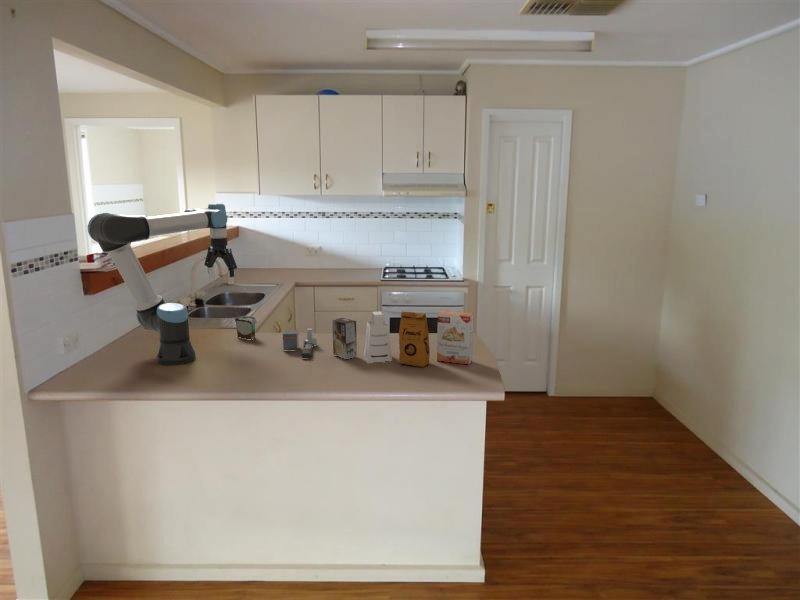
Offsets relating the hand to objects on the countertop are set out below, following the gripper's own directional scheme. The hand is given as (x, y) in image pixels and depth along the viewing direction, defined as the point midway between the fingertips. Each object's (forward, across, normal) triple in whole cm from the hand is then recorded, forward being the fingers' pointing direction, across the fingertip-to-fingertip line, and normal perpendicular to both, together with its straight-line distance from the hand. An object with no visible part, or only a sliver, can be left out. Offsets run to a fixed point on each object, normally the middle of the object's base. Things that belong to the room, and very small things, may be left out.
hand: (221, 282), depth 263 cm
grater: (+27, -80, -14) cm, 86 cm away
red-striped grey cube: (+27, -40, -4) cm, 48 cm away
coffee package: (+27, -97, -17) cm, 102 cm away
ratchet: (+27, -48, -6) cm, 56 cm away
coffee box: (+27, -67, -9) cm, 73 cm away
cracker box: (+27, -110, -29) cm, 116 cm away
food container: (+27, -10, -7) cm, 30 cm away
